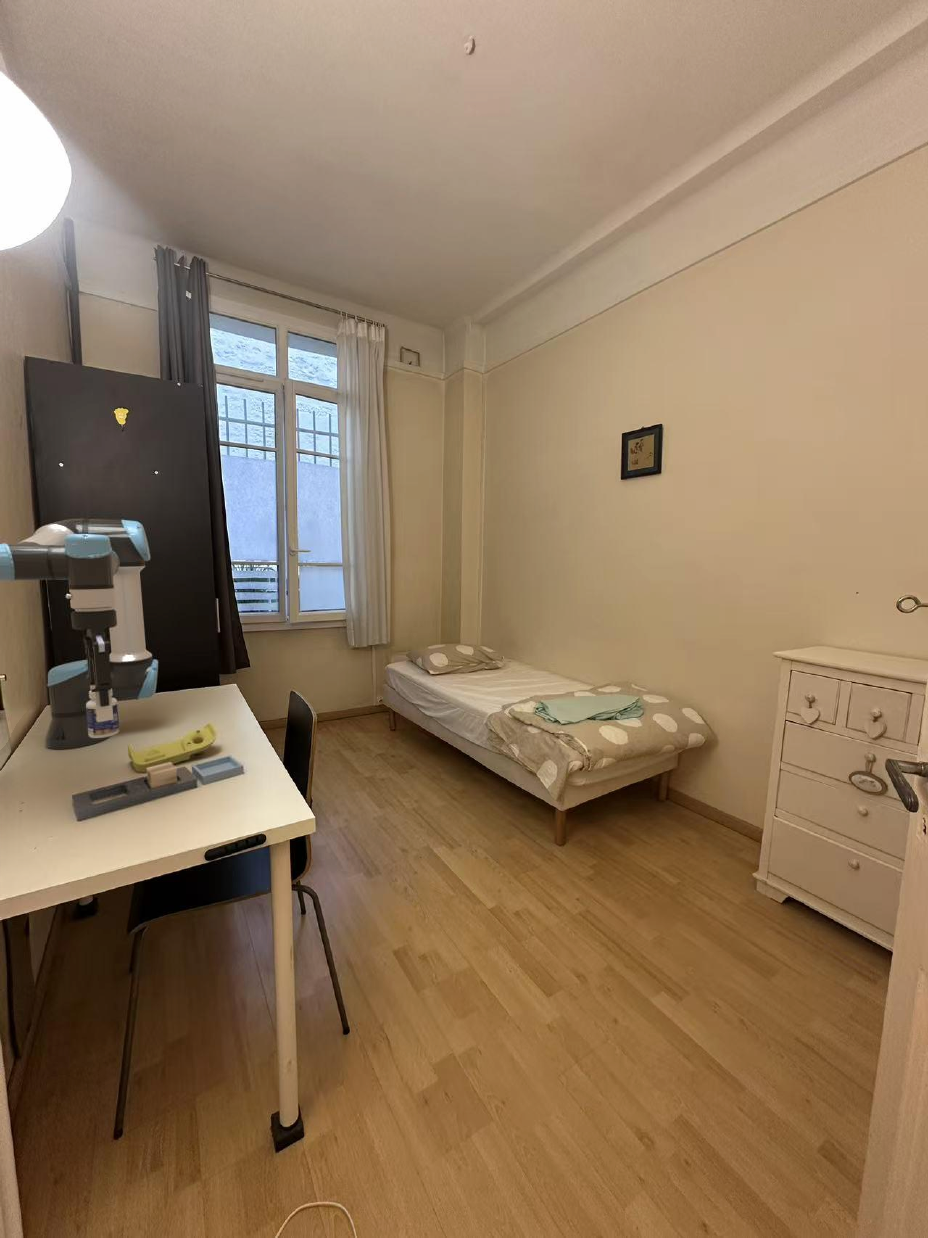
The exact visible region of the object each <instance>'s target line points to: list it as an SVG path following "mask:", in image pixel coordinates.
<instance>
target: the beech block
mask: <svg viewBox="0 0 928 1238" xmlns="http://www.w3.org/2000/svg"><path fill="white" fill-rule="evenodd" d="M176 768H177V767H176V766H175V765H174V764H172V763H171V762H169V763H165V764H161V765H156V766H152V767H148V768H146V771H147V772H146V776H147V785H148V789H151V788H155V787H158V786H162V785H166V784H169V783H173V782H177V771H176Z"/></svg>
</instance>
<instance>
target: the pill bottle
mask: <svg viewBox="0 0 928 1238" xmlns="http://www.w3.org/2000/svg"><path fill="white" fill-rule="evenodd" d="M112 695H113V693H112V689H111V696H112ZM89 698H90V699H91V700H90V701H89V702H87V704H86V712H87V724H88V735H89V737H91V738H103V737H108V736H110V737H111V736H115V735H117V734H119V732H120V722H119V721H120V719H119V709H118V701H117V700H116V699H115V698H112V708H113V720H108V721H103V722H97V715H96V704H95V692H91V691H89Z"/></svg>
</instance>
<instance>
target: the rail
mask: <svg viewBox="0 0 928 1238" xmlns="http://www.w3.org/2000/svg"><path fill="white" fill-rule="evenodd" d="M176 771H177V782H173V783H169V784H166V785H162V786H158V787H155V788H151V789H148V785H147V775H144V776H142V777H138V778H133V779H131V780H130V779H129V780H125V781H121V782H118V783H114V784H109V785H106V786H102V787H99V788H95V789H90V790H86V791H83V792H79V793H75V794H71V805H72V808H73V810H74V813H75V817H76V820H77V822H81V821H83V820H87V819H91V818H95V817H98V816H101V815H105V814H109V813H112V812H116V811H118V810H119V811H120V810H123V809H125V808H130V807H133V806H137V805H140V804H144V803H146V802H150V801H151V802H152V801H154V800H157V799H161V798H165V797H169V796H172V795H176V794H179V793H183V792H185V791H189V790H192V789H196V788H198V778H197V777H196V776H195V775H194V774H193V773H192V771H190V770H189V769H188V768H187V767H186V766H181V767H176ZM121 794H125V795H122V796H119V795H121ZM115 796H118V797H115ZM111 797H114V798H111ZM107 798H111V799H107ZM105 799H107V800H105ZM100 800H103V801H100ZM97 801H100V802H97ZM93 802H97V803H93Z"/></svg>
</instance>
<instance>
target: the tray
mask: <svg viewBox="0 0 928 1238" xmlns="http://www.w3.org/2000/svg"><path fill="white" fill-rule="evenodd" d="M244 771H245V769H244V765H243V764H242V763H241V762H239V760H237V759H236V758H235V757H234V756H232V755H230V754H229V755H226V756H221V757H219V758H214V759H210V760H207V761H202V762H200V763H195V764H191V773H192V774H193V775H194V776H195V777H196V778H197V781H199V782H200V783H201V784H202V785H203V786H204V785H207V784H208V785H209V784H211V783H214V782H218V781H222V780H224V779H229V778H232V777H235V776H239V775H243V774H245V773H244Z"/></svg>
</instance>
